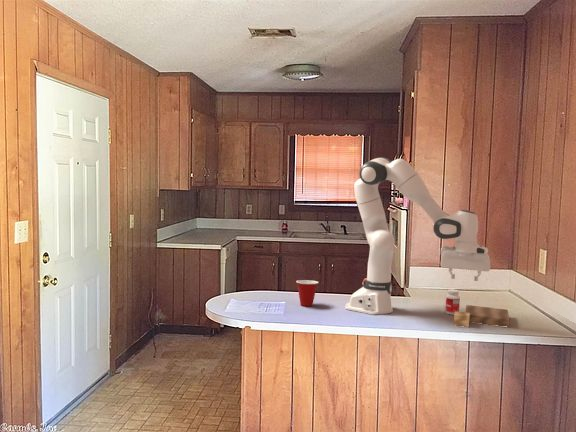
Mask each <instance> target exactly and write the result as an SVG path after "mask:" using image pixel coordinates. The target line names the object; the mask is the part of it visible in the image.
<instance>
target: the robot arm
mask: <svg viewBox="0 0 576 432" xmlns="http://www.w3.org/2000/svg"><path fill="white" fill-rule="evenodd" d="M385 181H390V182H391V183H392V184H393V185H394V186H395V188H396V189H397V190H398V191H399V193H401V195H402V196H404V198H406V199H407V200H409V201H411V202H413V203H414V204H417V205H418V206H420V207H421V208H422V210H423V211H424V212H425V213H426V214H427V215H428V216H429V218H430V219H431V220H432V222H433V224H434V225H433V227H432V229H433V233H434V234H435V236H437V237H438V238H439V239H442V240H449V239H455V241H454V242H455V243H454V244H455V246H443V247H441V248H440V256H441V258H440V259H441V260H440V267H441V268H443V269H448V271H449V274H450V279H451V280H452V279H453V280H455V279H456V273H453V270H455V269H456V270H457V269H458V270H466V271H467V270H468V271H477V275H474V277H473V278H474V279H473V280H474V282H478V281H479V277H480V275H481V274H482V272H489V271H490V270H491V258H490V255H489V254H488V253H489V248H487V247H486V246H484V245H481V244H478V237H477V236H478V233H479V217H478V215H477V213H475V212H473V211H472V210H469V209H468V210H467V209H459V210H458V211H456V212H453V213H452V214H448V213H446V212H445V210H443V209H442V208H441V206H440V205H439V204H438V203H437V202H436V200H435V199H434V198H433V196H432V195H431V193H430V191H429V189H428V186H427V185H426V183H425V181H424V180H423V178H422V176H420V174H419V173H418V172H417V170H415V168H414V167H413V166H412V165H411V164H410V163H408V162H407V161H406V160H405V159H404V158H396V159H394V160H391V159H389V158H387V157H382V156H380V157H377V158H373V159H371V160H369V161H367V162H365V163H364V164H362V165H361V167H360V169H359V179H357V180H356V181H355V182H354V186H353V190H354V195H355V201H356V205H357V207H358V211H359V214H360V217H361V221H362V224H363V225H362V226H363V229H364V233H365V237H366V240H367V243H368V245H369V253H368V254H369V255H368V261H367V272H366V273H367V275H366V278H363V280H362V284H361V285H362V287H360V288H359V289H358V290H356V291H355V292H353V293H352V294H351V296H350V299H349V302H347V303H345V305H344V309H345V310H348V311H353V312H358V313H363V314H367V315H368V314H369V315H382V314H384V315H385V314H389V313H392V312H394V309H393V305H392V299H391V297H392V296H391V293H392V290H393V289H392V287H393V285H392V280H391V279H392V263H393V257H394V251H395V244H396V240H395V236H394V235H393V233H391V232H390V229H389V226H388V222H387V217H386V213H385V209H384V206H383V201H382V199H381V196H380V192H379V185H380V184H382V183H383V182H385Z"/></svg>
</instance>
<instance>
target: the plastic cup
mask: <svg viewBox="0 0 576 432" xmlns="http://www.w3.org/2000/svg"><path fill="white" fill-rule="evenodd" d="M295 282H296V284H297V290H298V297H299V303H300V304H299V305H300V306H301V307H307V308H308V307H313V304H314V299H315V296H316V291H317V287H318V284H319V281H316V280H312V279H311V280H308V279H306V280H305V279H302V280H301V279H300V280H298V279H297V280H296V281H295Z"/></svg>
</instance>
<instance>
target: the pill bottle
mask: <svg viewBox="0 0 576 432" xmlns="http://www.w3.org/2000/svg"><path fill="white" fill-rule="evenodd" d="M459 294H460V293H459V290H458V289H453V288H452V289H451V288H449V289H448V290H447V294H446V296H445V307H444V308H445V310H444V311H445V312H444V313H445V314H447V315H449V314H450V316H454V314H455V311H458V312H460V303H461V301H460V299H461V297H460V295H459Z"/></svg>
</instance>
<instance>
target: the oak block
mask: <svg viewBox="0 0 576 432" xmlns="http://www.w3.org/2000/svg"><path fill="white" fill-rule="evenodd" d="M469 316H470V313H466V312H465V311H464V312H463V311H459V312H458V311H455V314H454V315H453V317H454V318H453V326H454V325H456V326H455V327H460V326H464V327H463V328H467V327H469V328H470V323H469Z"/></svg>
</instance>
